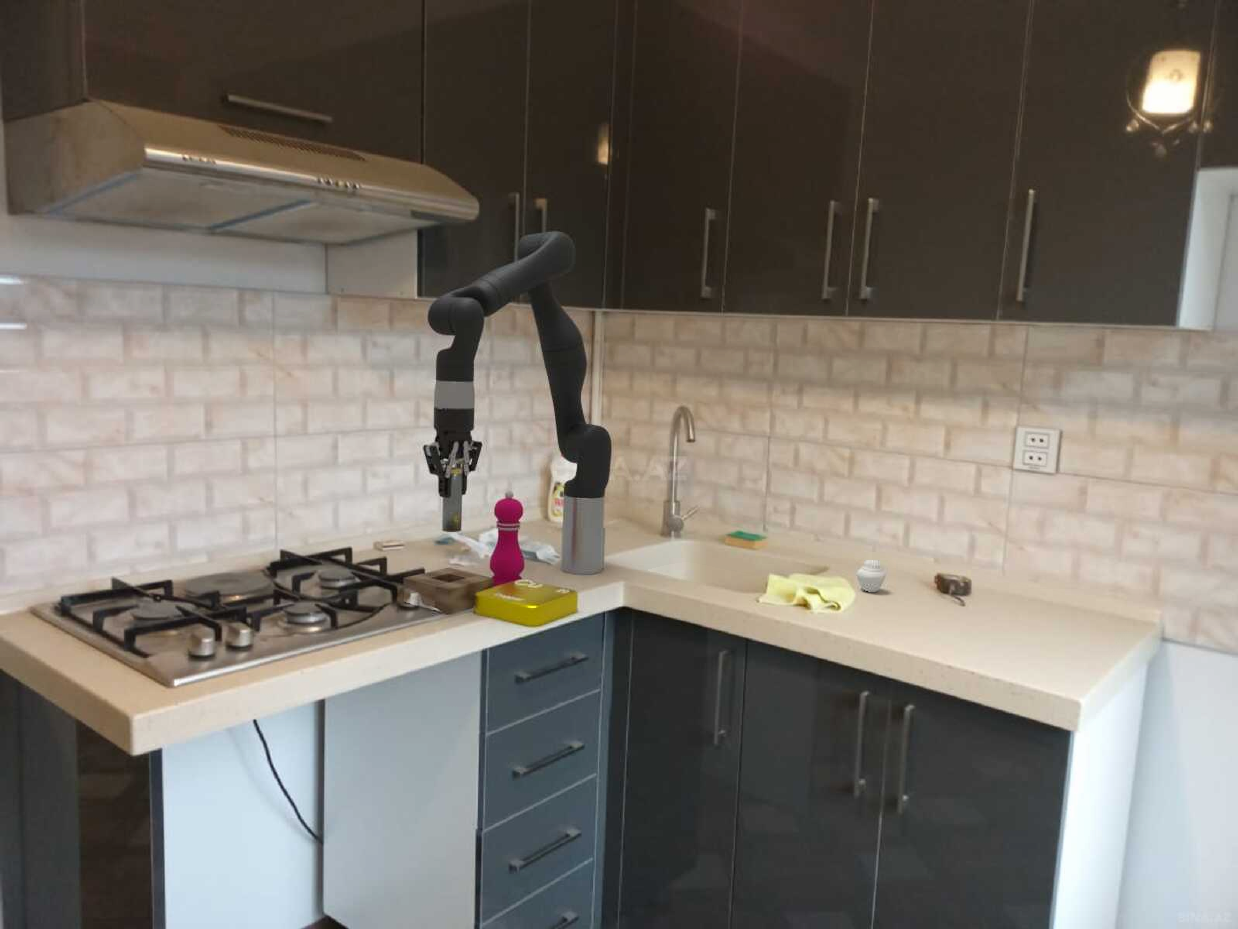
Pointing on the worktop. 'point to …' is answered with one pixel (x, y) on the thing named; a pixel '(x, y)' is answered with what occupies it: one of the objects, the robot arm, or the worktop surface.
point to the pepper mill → (507, 542)
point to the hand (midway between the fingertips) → (452, 495)
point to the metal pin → (453, 503)
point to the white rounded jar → (871, 576)
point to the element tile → (526, 602)
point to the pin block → (448, 588)
